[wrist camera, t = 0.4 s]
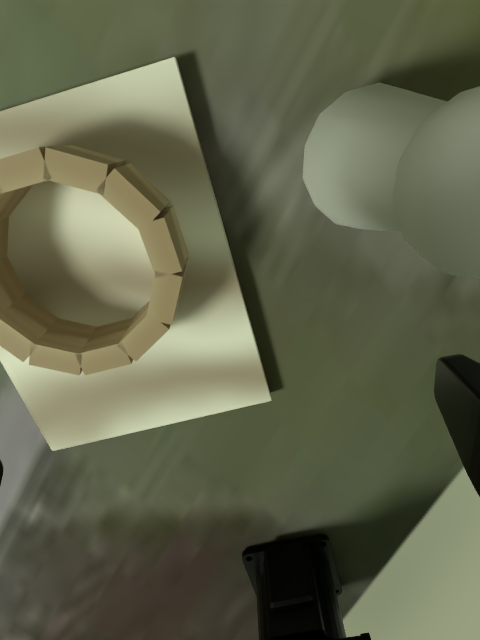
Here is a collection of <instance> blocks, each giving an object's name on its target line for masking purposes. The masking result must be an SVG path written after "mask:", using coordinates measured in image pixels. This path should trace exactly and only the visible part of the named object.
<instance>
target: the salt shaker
mask: <svg viewBox="0 0 480 640" xmlns="http://www.w3.org/2000/svg"><path fill="white" fill-rule="evenodd" d="M303 180H304V182H305V185H306V187H307V189H308V191H309V194H310V196H311V198H312V201H313V203H314V205H315V206H316V207H317V208H318V209H319V210H320V211H321V212H323V213H324V214H325V215H326V216H327V217H328V218H329V219H330V220H332V221H333V222H334V223H335V224H338V225H343V226H348V227H353V228H359V229H365V230H381V231H398V232H402V234H403V236H404V239H405V240H406V241H407V242H408V243H409V244H410V245H411V246H412V247H413V248H415V249H416V250H417V251H418V252H419V253H420V254H421V255H422V256H423V257H424V258H426V259H427V260H428V261H429V262H430V263H431V264H432V265H433V266H435V267H436V268H437V269H438V270H439V271H441V272H444V273H448V274H452V275H455V276H460V277H465V278H470V279H475V280H480V86H479V87H476V88H472V89H469V90H465V91H462V92H460V93H458V94H457V95H456V96H454V97H453V98H452V99H451V100H449V101H444V100H440V99H437V98H433V97H430V96H426V95H422V94H419V93H415V92H412V91H409V90H406V89H402V88H398V87H394V86H391V85H387V84H383V83H375V84H371V85H368V86H364V87H361V88H357V89H353V90H350V91H347V92H345V93H344V94H343V95H342V96H341V97H339V98H338V99H337V100H336V101H335V102H333V103H332V104H331V105H330V106H329V107H327V108H326V109H325V110H324V111H323V112H321V113H320V114H319V116H318V118H317V120H316V123H315V125H314V127H313V129H312V131H311V133H310V135H309V138H308V140H307V142H306V144H305V151H304V166H303Z"/></svg>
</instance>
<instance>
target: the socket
mask: <svg viewBox="0 0 480 640" xmlns="http://www.w3.org/2000/svg"><path fill="white" fill-rule="evenodd" d="M0 361H1V363H2V365H3V366H4V368H5V370H6V372H7V373H8V375H9V377H10V378H11V380H12V382H13V384H14V385H15V387H16V389H17V391H18V392H19V394H20V396H21V398H22V399H23V401H24V403H25V404H26V406H27V408H28V410H29V411H30V413H31V415H32V417H33V418H34V420H35V422H36V424H37V425H38V427H39V429H40V431H41V432H42V434H43V436H44V437H45V439H46V441H47V443H48V444H49V446H50V448H51V450H52V451H55V450H59V449H64V448H68V447H72V446H77V445H81V444H85V443H90V442H94V441H98V440H103V439H107V438H111V437H116V436H120V435H124V434H129V433H133V432H138V431H142V430H146V429H151V428H155V427H159V426H164V425H168V424H172V423H177V422H181V421H185V420H190V419H194V418H198V417H203V416H207V415H211V414H216V413H220V412H224V411H229V410H233V409H238V408H242V407H246V406H251V405H255V404H259V403H264V402H268V401H271V394H270V390H269V387H268V383H267V379H266V376H265V372H264V369H263V365H262V362H261V358H260V354H259V351H258V347H257V344H256V340H255V337H254V333H253V330H252V326H251V322H250V319H249V315H248V312H247V308H246V305H245V301H244V297H243V294H242V290H241V287H240V283H239V280H238V276H237V273H236V269H235V265H234V262H233V258H232V255H231V251H230V248H229V244H228V240H227V237H226V233H225V230H224V226H223V223H222V219H221V216H220V212H219V208H218V205H217V201H216V198H215V194H214V191H213V187H212V183H211V180H210V176H209V173H208V169H207V166H206V162H205V159H204V155H203V151H202V148H201V144H200V141H199V137H198V134H197V130H196V126H195V123H194V119H193V116H192V112H191V109H190V105H189V102H188V98H187V94H186V91H185V87H184V84H183V80H182V77H181V73H180V69H179V66H178V62H177V60H176V58H175V57H173V58H170V59H166V60H163V61H160V62H157V63H154V64H150V65H147V66H144V67H141V68H138V69H134V70H131V71H128V72H125V73H122V74H118V75H115V76H112V77H109V78H106V79H102V80H99V81H96V82H93V83H89V84H86V85H83V86H80V87H77V88H73V89H70V90H67V91H64V92H61V93H57V94H54V95H51V96H48V97H45V98H41V99H38V100H35V101H32V102H28V103H25V104H22V105H19V106H16V107H12V108H9V109H6V110H3V111H0Z"/></svg>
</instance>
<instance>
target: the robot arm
mask: <svg viewBox="0 0 480 640" xmlns="http://www.w3.org/2000/svg"><path fill="white" fill-rule="evenodd" d="M434 395H435V399H436V402H437V405H438V407H439V409H440V412H441V414H442V416H443V419H444V421H445V423H446V426H447V428H448V430H449V433H450V435H451V437H452V440H453V442H454V445H455V447H456V449H457V452H458V454H459V456H460V459H461V461H462V463H463V466H464V468H465V470H466V472H467V474H468V476H469V478H470V480H471V482H472V484H473V486H474V488H475V489H476V491H477V493H478V495H479V496H480V363H478V362H476V361H474V360H472V359H470V358H468V357H466V356H464V355H461V354H457V355H451V356H445V357H441V358H439V359H438V361H437V364H436V374H435V385H434ZM2 476H3V465H2V462H1V460H0V485H1V480H2ZM242 560H243V563H244V565H245V568H246V570H247V573H248V576H249V578H250V581H251V583H252V586H253V588H254V591H255V594H256V596H257V611H258V630H259V640H371V638H370V635H369V633H363V634H361V636H355V637H347V638H346V634H345V629H344V625H343V620H342V616H341V612H340V607H339V603H338V598H337V595H340V594H341V593H342V589H341V585H340V581H339V577H338V573H337V569H336V565H335V561H334V557H333V553H332V549H331V546H330V542H329V538H328V536H326V535H317V536H312V537H307V538H302V539H297V540H292V541H287V542H282V543H277V544H272V545H267V546H262V547H257V548H251V549H247V550H244V551H243V553H242Z"/></svg>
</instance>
